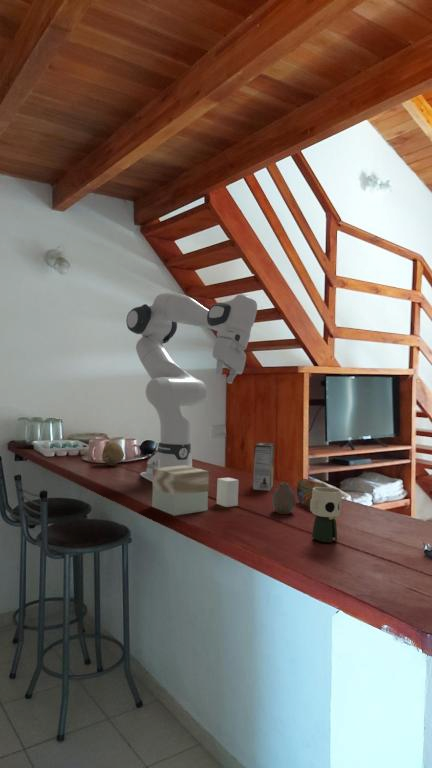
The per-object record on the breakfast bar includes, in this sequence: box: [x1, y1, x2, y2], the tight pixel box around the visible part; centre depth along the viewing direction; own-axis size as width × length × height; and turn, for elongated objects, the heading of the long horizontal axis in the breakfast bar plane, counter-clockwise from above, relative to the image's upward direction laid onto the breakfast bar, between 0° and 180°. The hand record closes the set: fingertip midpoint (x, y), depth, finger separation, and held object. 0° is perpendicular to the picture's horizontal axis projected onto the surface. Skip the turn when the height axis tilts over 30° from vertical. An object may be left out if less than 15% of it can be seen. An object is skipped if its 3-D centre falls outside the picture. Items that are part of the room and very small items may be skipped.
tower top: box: [152, 465, 210, 496], centre depth 168 cm, size 12×12×6 cm
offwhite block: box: [216, 477, 240, 508], centre depth 175 cm, size 5×4×8 cm
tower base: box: [151, 488, 209, 516], centre depth 168 cm, size 12×12×6 cm
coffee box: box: [252, 442, 275, 492], centre depth 203 cm, size 9×6×16 cm
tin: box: [296, 478, 328, 508], centre depth 177 cm, size 15×3×8 cm, turn 24°
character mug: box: [309, 486, 343, 543], centre depth 141 cm, size 11×7×13 cm, turn 126°
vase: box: [271, 482, 296, 515], centre depth 168 cm, size 7×7×9 cm
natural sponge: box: [101, 441, 125, 467], centre depth 237 cm, size 9×9×10 cm
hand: (223, 379), depth 187 cm, fingers open, 8 cm apart
